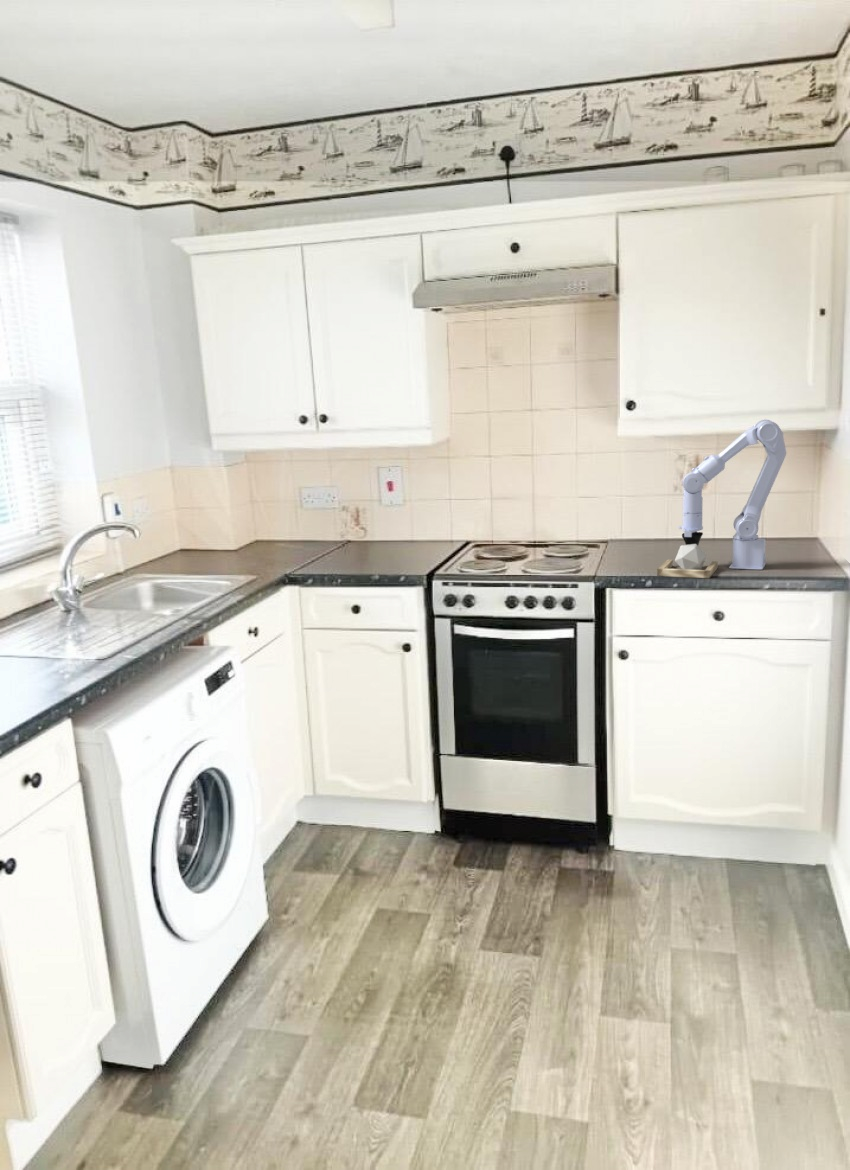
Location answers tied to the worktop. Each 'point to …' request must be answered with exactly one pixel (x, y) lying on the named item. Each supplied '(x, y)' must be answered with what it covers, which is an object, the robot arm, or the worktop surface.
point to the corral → (686, 570)
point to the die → (690, 557)
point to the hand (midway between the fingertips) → (692, 556)
